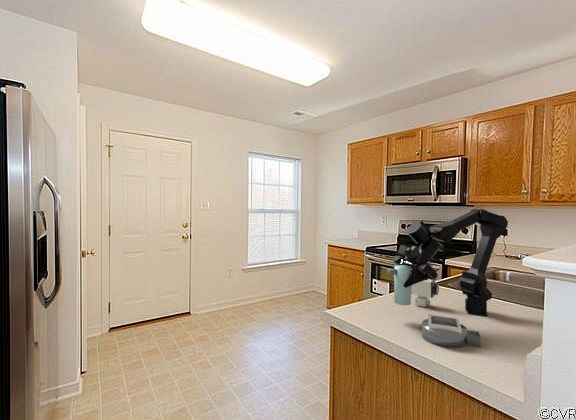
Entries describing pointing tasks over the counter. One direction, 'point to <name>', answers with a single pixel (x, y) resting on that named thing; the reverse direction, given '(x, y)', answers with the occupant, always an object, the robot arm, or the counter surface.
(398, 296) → the cylinder
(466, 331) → the grey socket base
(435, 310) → the counter surface
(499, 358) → the counter surface
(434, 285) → the pneumatic valve
